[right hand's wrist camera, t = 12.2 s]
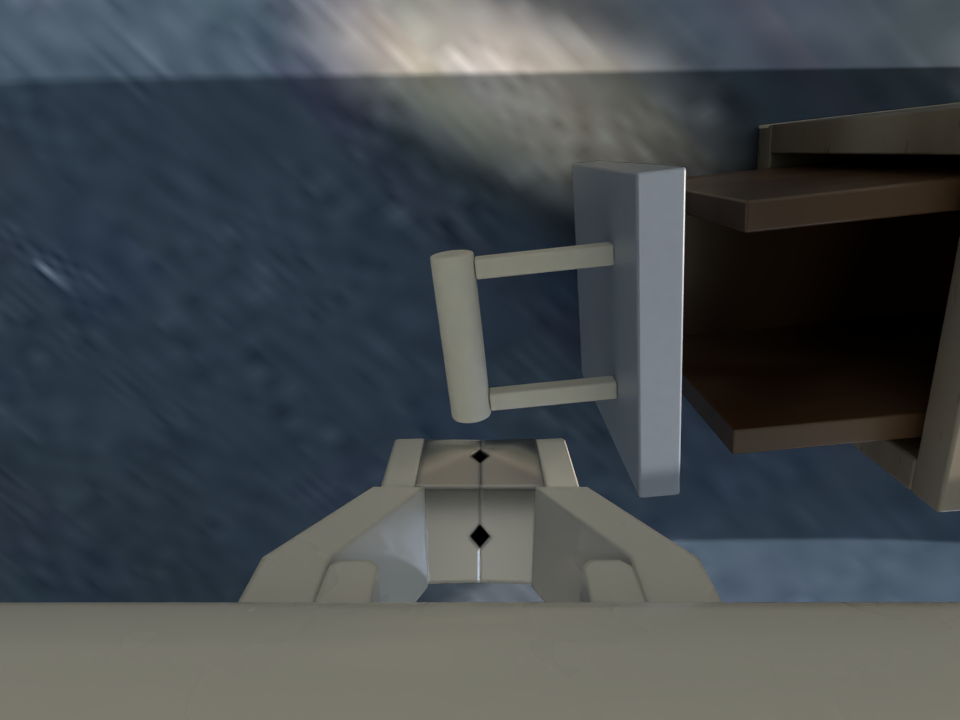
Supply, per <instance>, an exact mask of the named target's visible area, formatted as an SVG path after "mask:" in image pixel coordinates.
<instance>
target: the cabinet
mask: <svg viewBox="0 0 960 720" xmlns="http://www.w3.org/2000/svg"><path fill="white" fill-rule="evenodd" d="M759 129H760V130H759V146H758V162H757V169H765V168H774V167H783V166H792V165H801V164H810V163H819V162H828V161H837V160H846V159H855V158H864V157H873V156H882V155H890V154H894V155H960V102H959V103H950V104H942V105H933V106H924V107H915V108H907V109H898V110H889V111H881V112H872V113H863V114H854V115H846V116H837V117H828V118H820V119H811V120H802V121H793V122H785V123H776V124H767V125H759ZM851 444H852V445H853V446H855V447H856V448H857V449H858V450H860V451H861V452H862V453H864V454H865V455H866V456H867V457H869V458H870V459H871V460H872V461H874V462H875V463H876V464H878V465H879V466H880V467H881V468H883V469H884V470H885V471H886V472H888V473H889V474H890V475H891V476H893V477H894V478H895V479H897V480H898V481H899V482H900V483H902V484H903V485H904V486H905V487H907V488H908V489H910V490H912V492H913V493H914V494H915V495H917V496H918V497H919V498H920V499H922V500H923V501H924V502H925V503H927V504H928V505H929V506H931V507H932V508H933V509H934V510H936V511H937V512H952V511H960V237H959V242H958V247H957V253H956V258H955V263H954V268H953V274H952V279H951V284H950V290H949V295H948V300H947V305H946V311H945V316H944V321H943V326H942V332H941V337H940V342H939V348H938V353H937V358H936V363H935V369H934V374H933V379H932V385H931V390H930V395H929V400H928V406H927V411H926V416H925V422H924V427H923V432H922V437H913V438H902V439H892V440H881V441H870V442H859V443H851Z"/></svg>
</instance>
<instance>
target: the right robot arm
mask: <svg viewBox="0 0 960 720" xmlns="http://www.w3.org/2000/svg"><path fill="white" fill-rule="evenodd" d="M479 582H480V583H516V584H532V587H533V588H534V590H535V591H536V592H537V593H538V594H539V596H540V597H541V598H542V599H543V601H544V602H416V601H417V600H418V599H419V597H420V596H421V595H422V594H423V593H424V591H425V590H426V589H427V588H428V584H444V583H479ZM0 720H960V602H722V601H721V599H720V597H719V595H718V594H717V592H716V590H715V588H714V586H713V584H712V582H711V581H710V579H709V577H708V575H707V573H706V571H705V569H704V567H703V566H702V564H701V562H700V560H699V558H697V557H696V556H694V555H693V554H691V553H690V552H688V551H686V550H685V549H683V548H682V547H680V546H679V545H677V544H676V543H674V542H672V541H671V540H669V539H668V538H666V537H665V536H663V535H662V534H660V533H658V532H657V531H655V530H654V529H652V528H651V527H649V526H647V525H646V524H644V523H643V522H641V521H640V520H638V519H637V518H635V517H633V516H632V515H630V514H629V513H627V512H626V511H624V510H622V509H621V508H619V507H618V506H616V505H615V504H613V503H612V502H610V501H608V500H607V499H605V498H604V497H602V496H601V495H599V494H597V493H596V492H594V491H593V490H591V489H590V488H588V487H579V485H578V481H577V478H576V475H575V471H574V468H573V465H572V462H571V458H570V455H569V452H568V448H567V445H566V442H565V440H564V439H562V438H557V439H536V440H535V439H507V440H450V439H425V440H424V439H423V438H418V439H397V440H395V441H394V444H393V448H392V451H391V454H390V458H389V461H388V465H387V468H386V471H385V475H384V478H383V481H382V485H381V487H372V488H370V489H369V490H367V491H366V492H364V493H362V494H361V495H359V496H358V497H356V498H355V499H353V500H352V501H350V502H348V503H347V504H345V505H344V506H342V507H341V508H339V509H337V510H336V511H334V512H333V513H331V514H330V515H328V516H326V517H325V518H323V519H322V520H320V521H319V522H317V523H315V524H314V525H312V526H311V527H309V528H308V529H306V530H304V531H303V532H301V533H300V534H298V535H297V536H295V537H293V538H292V539H290V540H289V541H287V542H286V543H284V544H282V545H281V546H279V547H278V548H276V549H275V550H273V551H271V552H270V553H268V554H267V555H265V556H264V557H262V559H261V561H260V562H259V564H258V566H257V568H256V570H255V572H254V573H253V575H252V577H251V579H250V581H249V583H248V585H247V586H246V588H245V590H244V592H243V594H242V596H241V597H240V599H239V601H238V602H0Z"/></svg>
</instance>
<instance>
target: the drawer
mask: <svg viewBox="0 0 960 720" xmlns="http://www.w3.org/2000/svg"><path fill="white" fill-rule="evenodd" d="M572 175H573V196H574V217H575V238H576V246H567V247H557V248H548V249H539V250H530V251H520V252H511V253H502V254H492V255H483V256H476V257H475V259H474V253H473V252H472V251H470V250H451V251H445V252H440V253H436V254H434V255H432V256H431V257H430V262H431V270H432V277H433V284H434V291H435V298H436V306H437V313H438V320H439V327H440V334H441V341H442V349H443V356H444V363H445V370H446V377H447V385H448V392H449V399H450V406H451V413H452V417H453V419H454V420H455V421H457V422H460V423H475V422H479V421H482V420H484V419H486V418H488V417H489V416H490V414H491V410H493V411H494V410H504V409H514V408H525V407H535V406H545V405H556V404H566V403H576V402H587V401H595V402H596V404H597V407H598V409H599V411H600V413H601V415H602V418H603V420H604V422H605V424H606V426H607V428H608V431H609V433H610V435H611V437H612V439H613V442H614V444H615V446H616V448H617V450H618V452H619V455H620V457H621V459H622V461H623V463H624V466H625V468H626V470H627V472H628V474H629V477H630V479H631V481H632V483H633V485H634V487H635V490H636V492H637V494H638V496H639V497H640V498H644V497H655V496H666V495H677V494H679V492H680V447H681V396H682V394H683V395H684V396H685V398H686V399H687V400H688V401H689V402H690V404H691V405H692V406H693V407H694V408H695V410H696V411H697V412H698V413H699V414H700V416H701V417H702V418H703V419H704V420H705V422H706V423H707V424H708V425H709V426H710V428H711V429H712V430H713V431H714V432H715V434H716V435H717V436H718V437H719V438H720V440H721V441H722V442H723V443H724V444H725V446H726V447H727V448H728V449H729V450H730V452H731V453H732V454H740V453H751V452H762V451H773V450H784V449H794V448H805V447H816V446H827V445H838V444H848V443H859V442H870V441H881V440H892V439H902V438H913V437H922V432H923V427H924V422H925V416H926V411H927V406H928V400H929V395H930V390H931V385H932V379H933V374H934V369H935V363H936V358H937V353H938V348H939V342H940V337H941V332H942V326H943V321H944V316H945V311H946V305H947V300H948V295H949V290H950V284H951V279H952V274H953V268H954V263H955V258H956V253H957V247H958V242H959V237H960V155H894V154H890V155H882V156H873V157H864V158H855V159H846V160H837V161H828V162H819V163H810V164H801V165H792V166H783V167H774V168H765V169H756V170H747V171H738V172H729V173H721V174H712V175H703V176H694V177H686V169H685V167H680V166H667V165H653V164H640V163H627V162H614V161H601V160H600V161H591V162H582V163H574V164H573V165H572ZM572 269H577V280H578V301H579V322H580V343H581V364H582V374H583V376H584V378H583V379H573V380H563V381H553V382H543V383H532V384H522V385H512V386H502V387H492V388H490V389H489V386H488V377H487V368H486V359H485V350H484V341H483V332H482V323H481V314H480V305H479V296H478V287H477V279H487V278H497V277H506V276H516V275H525V274H534V273H544V272H553V271H563V270H572Z"/></svg>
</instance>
